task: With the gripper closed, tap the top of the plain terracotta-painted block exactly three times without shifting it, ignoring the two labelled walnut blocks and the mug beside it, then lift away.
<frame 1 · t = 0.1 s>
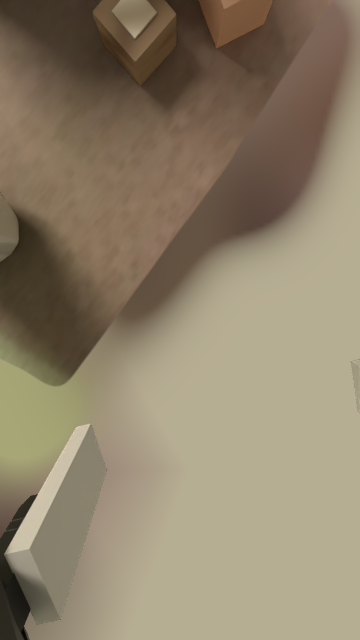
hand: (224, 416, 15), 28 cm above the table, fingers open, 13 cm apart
plain block: (230, 8, 35), on the table
walnut block b: (139, 45, 36), on the table
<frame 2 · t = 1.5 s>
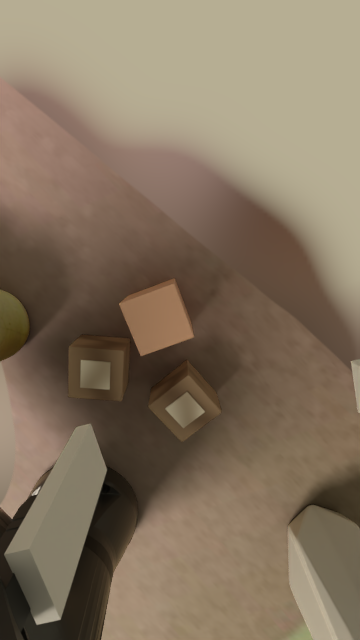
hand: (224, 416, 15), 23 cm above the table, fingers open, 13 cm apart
vase: (314, 528, 45), on the table
walnut block a: (105, 359, 39), on the table
plain block: (160, 309, 37), on the table
walnut block b: (184, 390, 40), on the table
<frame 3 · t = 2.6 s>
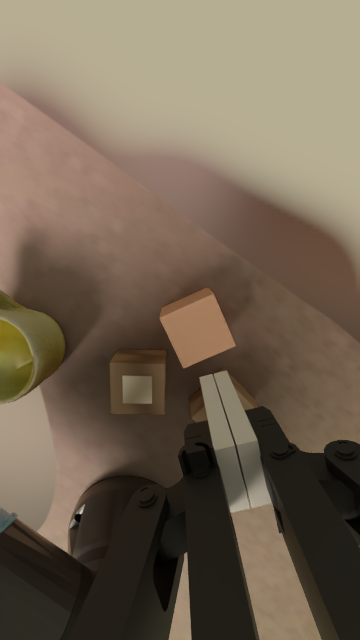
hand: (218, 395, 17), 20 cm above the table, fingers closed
walnut block a: (142, 372, 39), on the table
plain block: (194, 319, 37), on the table
mug: (27, 327, 37), on the table
walnut block b: (221, 398, 40), on the table
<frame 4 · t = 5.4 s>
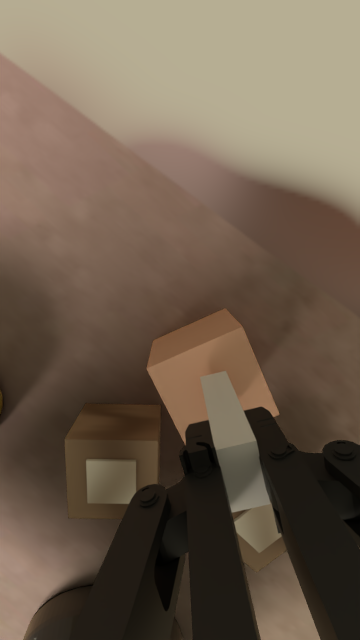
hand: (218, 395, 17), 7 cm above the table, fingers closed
walnut block a: (123, 436, 25), on the table
plain block: (204, 358, 24), on the table
walnut block b: (244, 473, 26), on the table
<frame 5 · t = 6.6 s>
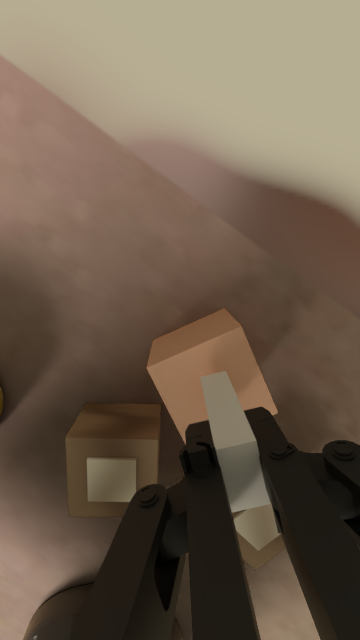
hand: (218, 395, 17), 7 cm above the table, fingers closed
walnut block a: (123, 435, 25), on the table
plain block: (203, 357, 24), on the table
walnut block b: (244, 472, 26), on the table
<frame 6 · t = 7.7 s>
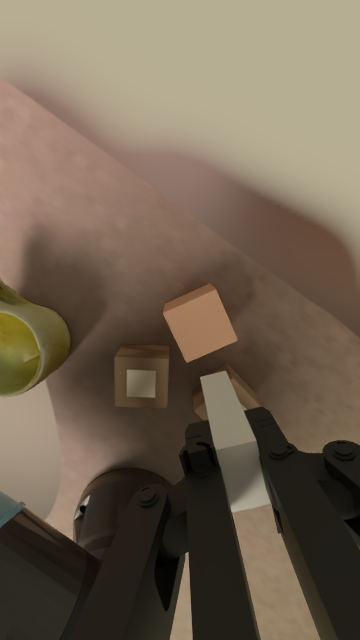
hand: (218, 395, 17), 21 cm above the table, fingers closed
walnut block a: (145, 366, 39), on the table
plain block: (197, 315, 38), on the table
mug: (33, 323, 38), on the table
walnut block b: (223, 392, 40), on the table
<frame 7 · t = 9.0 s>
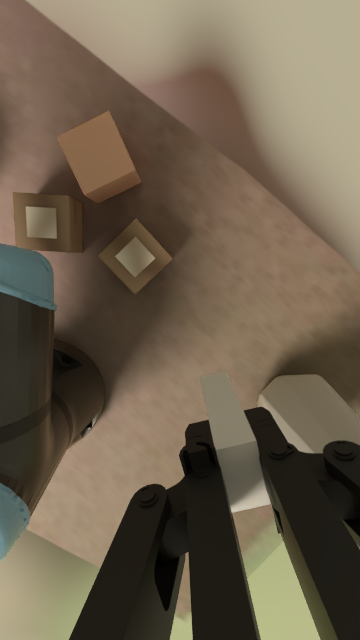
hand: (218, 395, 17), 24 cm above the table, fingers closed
vase: (285, 402, 44), on the table
walnut block a: (58, 226, 39), on the table
plain block: (108, 169, 37), on the table
walnut block b: (140, 256, 40), on the table
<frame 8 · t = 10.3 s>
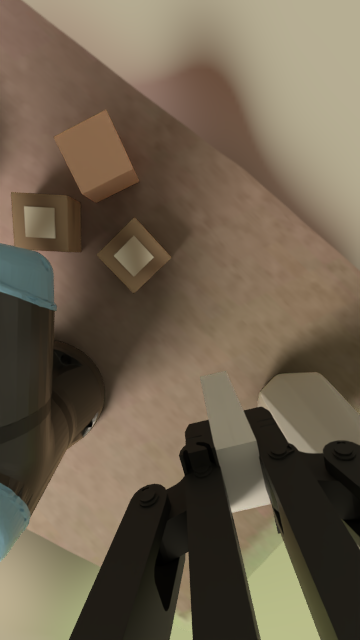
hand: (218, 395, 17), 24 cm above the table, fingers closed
vase: (285, 401, 44), on the table
walnut block a: (57, 226, 39), on the table
plain block: (106, 168, 37), on the table
walnut block b: (138, 256, 40), on the table
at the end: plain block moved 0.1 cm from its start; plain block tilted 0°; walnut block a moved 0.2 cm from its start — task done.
